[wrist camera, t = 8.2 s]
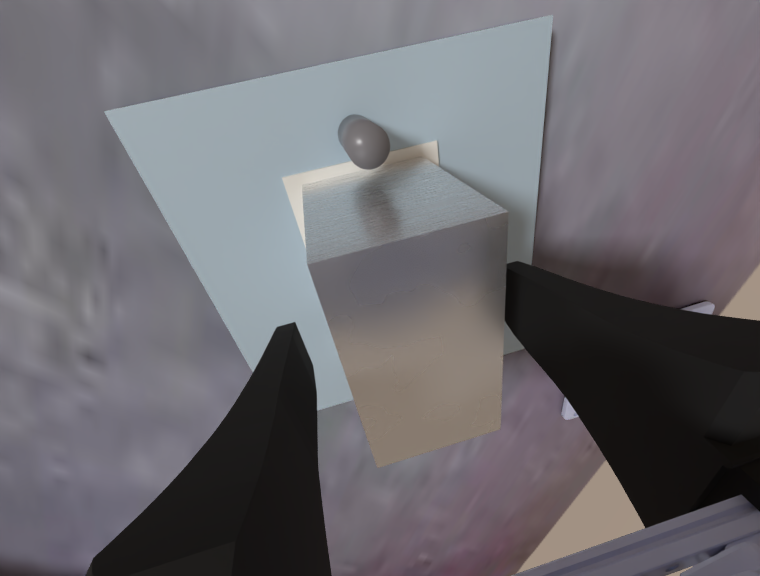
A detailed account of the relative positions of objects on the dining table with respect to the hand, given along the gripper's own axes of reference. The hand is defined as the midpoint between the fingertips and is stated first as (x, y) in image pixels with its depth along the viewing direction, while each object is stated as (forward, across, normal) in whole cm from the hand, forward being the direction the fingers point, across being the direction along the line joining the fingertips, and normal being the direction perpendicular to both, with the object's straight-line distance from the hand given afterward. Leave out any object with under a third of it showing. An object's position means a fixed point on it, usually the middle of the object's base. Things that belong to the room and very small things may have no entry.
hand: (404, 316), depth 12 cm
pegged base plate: (+4, 0, 0) cm, 4 cm away
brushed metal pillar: (+3, 0, 0) cm, 3 cm away
